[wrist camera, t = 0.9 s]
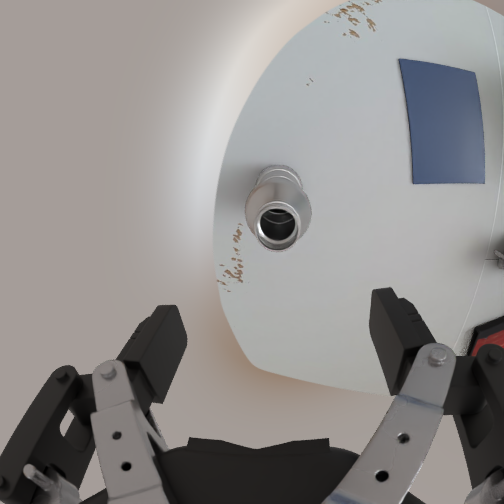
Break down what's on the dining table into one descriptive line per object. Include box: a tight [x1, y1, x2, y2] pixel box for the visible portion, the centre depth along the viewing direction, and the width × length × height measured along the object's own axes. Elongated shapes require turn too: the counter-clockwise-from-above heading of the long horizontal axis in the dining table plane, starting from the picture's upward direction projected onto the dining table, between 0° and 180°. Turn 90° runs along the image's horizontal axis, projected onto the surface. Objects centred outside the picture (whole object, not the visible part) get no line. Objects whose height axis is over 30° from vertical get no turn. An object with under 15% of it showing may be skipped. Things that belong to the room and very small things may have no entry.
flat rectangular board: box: [399, 59, 485, 184], centre depth 32 cm, size 20×16×1 cm
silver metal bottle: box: [245, 165, 312, 252], centre depth 31 cm, size 6×7×20 cm
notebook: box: [467, 316, 504, 356], centre depth 46 cm, size 16×2×21 cm
